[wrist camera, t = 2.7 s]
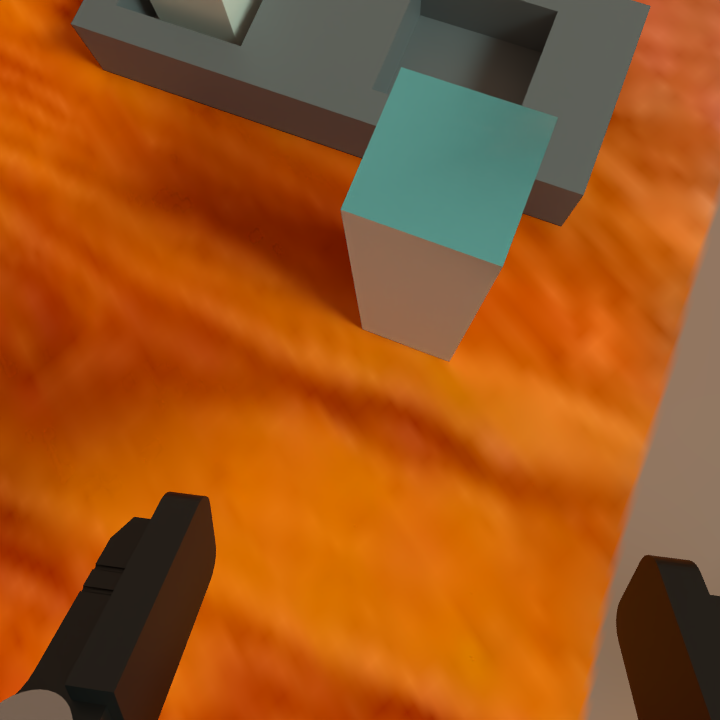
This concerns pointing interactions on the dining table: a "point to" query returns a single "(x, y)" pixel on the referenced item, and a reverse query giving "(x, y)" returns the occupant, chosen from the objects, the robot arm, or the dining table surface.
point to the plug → (438, 207)
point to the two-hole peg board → (382, 64)
